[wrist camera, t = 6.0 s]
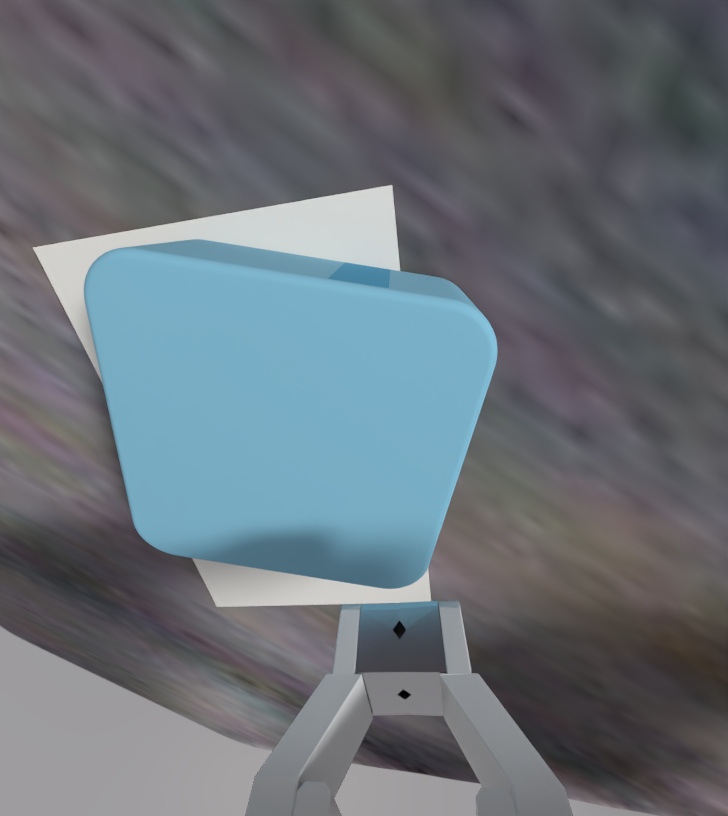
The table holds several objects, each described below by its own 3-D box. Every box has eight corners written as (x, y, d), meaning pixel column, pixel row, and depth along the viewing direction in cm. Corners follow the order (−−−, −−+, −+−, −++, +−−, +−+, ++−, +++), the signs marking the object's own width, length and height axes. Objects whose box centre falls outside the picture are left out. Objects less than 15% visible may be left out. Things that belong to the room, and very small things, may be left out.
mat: (392, 185, 13) (392, 184, 12) (430, 597, 23) (431, 602, 22) (39, 246, 14) (32, 247, 14) (218, 602, 24) (217, 606, 24)
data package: (481, 283, 14) (162, 231, 14) (517, 311, 10) (65, 238, 10) (414, 518, 19) (189, 482, 19) (420, 597, 15) (136, 552, 15)
